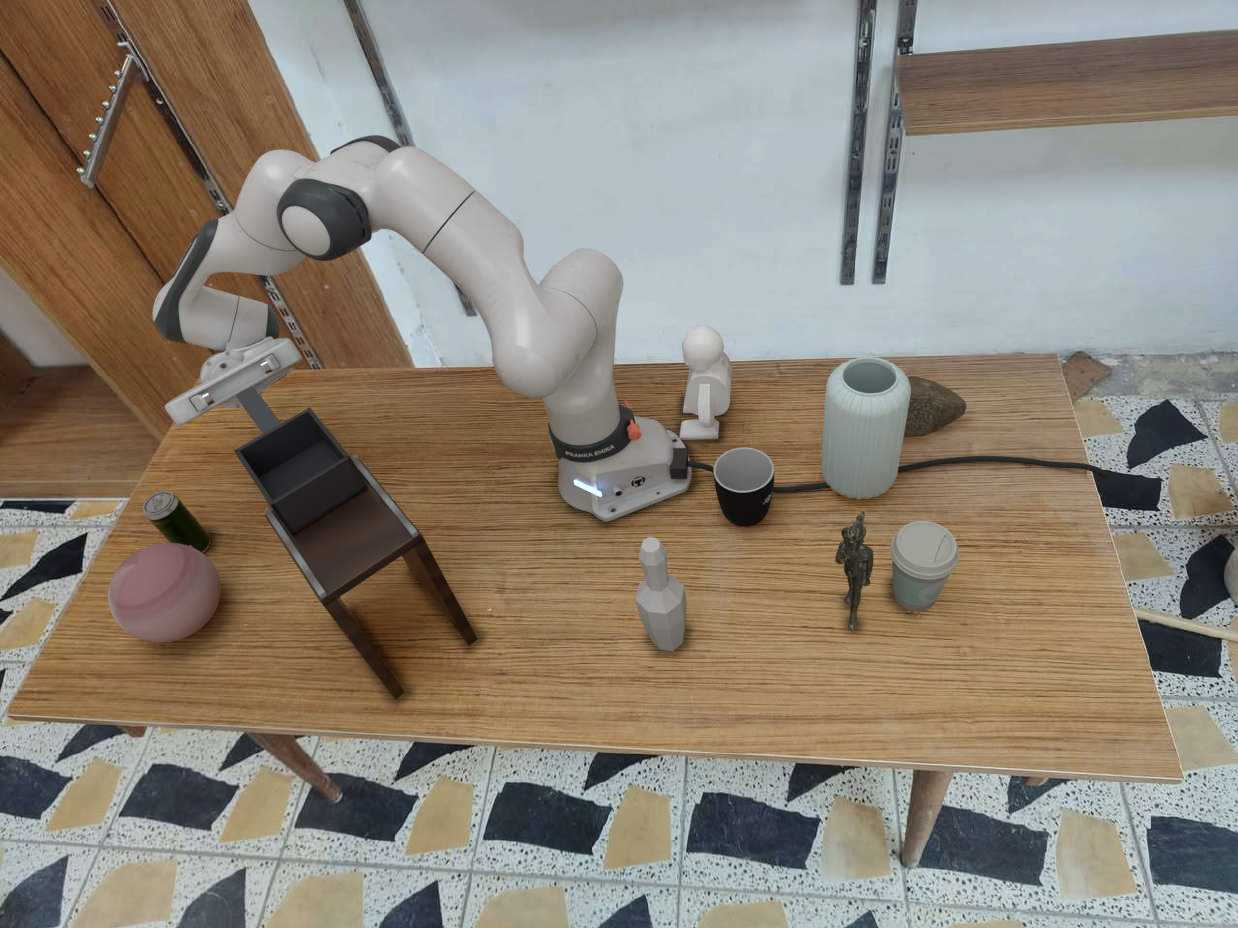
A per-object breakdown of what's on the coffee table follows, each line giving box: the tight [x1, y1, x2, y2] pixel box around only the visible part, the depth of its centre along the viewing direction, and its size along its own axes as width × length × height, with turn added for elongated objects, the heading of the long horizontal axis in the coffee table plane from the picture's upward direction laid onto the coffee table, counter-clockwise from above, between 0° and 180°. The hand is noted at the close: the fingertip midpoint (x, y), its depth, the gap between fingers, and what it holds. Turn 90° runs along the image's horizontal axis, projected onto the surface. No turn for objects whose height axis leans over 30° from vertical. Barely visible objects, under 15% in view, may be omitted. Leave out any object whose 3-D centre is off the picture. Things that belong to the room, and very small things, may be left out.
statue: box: [835, 510, 874, 631], centre depth 106 cm, size 5×6×20 cm
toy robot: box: [678, 324, 733, 441], centre depth 135 cm, size 14×9×20 cm, turn 171°
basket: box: [233, 386, 368, 535], centre depth 110 cm, size 24×11×6 cm, turn 39°
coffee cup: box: [889, 520, 960, 612], centre depth 110 cm, size 8×8×12 cm
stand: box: [263, 454, 479, 700], centre depth 113 cm, size 18×14×27 cm
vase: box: [820, 356, 911, 501], centre depth 121 cm, size 12×12×22 cm
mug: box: [712, 446, 775, 528], centre depth 125 cm, size 12×9×10 cm
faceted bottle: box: [635, 536, 688, 652], centre depth 107 cm, size 6×6×22 cm
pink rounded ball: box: [107, 542, 222, 644], centre depth 124 cm, size 15×15×15 cm
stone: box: [904, 375, 968, 438], centre depth 133 cm, size 17×9×8 cm, turn 93°
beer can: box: [142, 490, 212, 554], centre depth 136 cm, size 5×5×12 cm
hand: (237, 383), depth 117 cm, fingers open, 8 cm apart
